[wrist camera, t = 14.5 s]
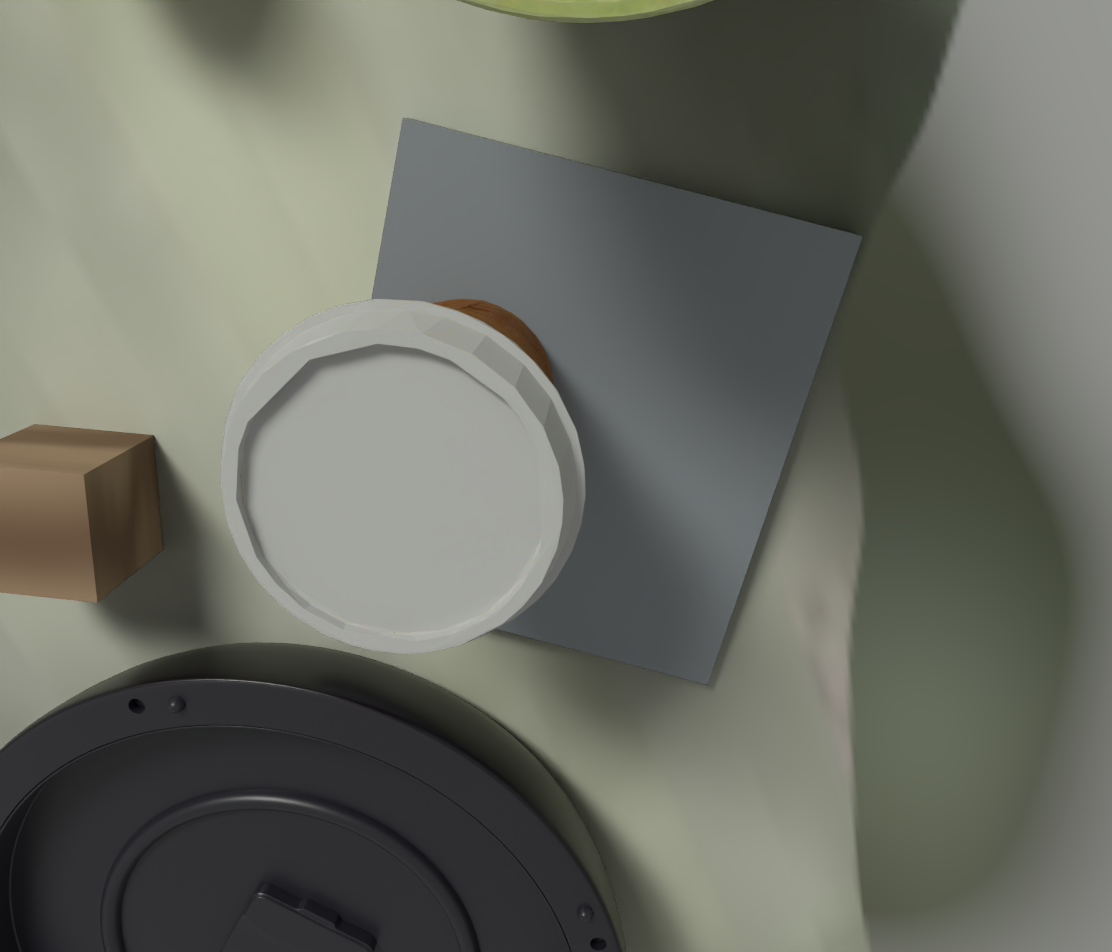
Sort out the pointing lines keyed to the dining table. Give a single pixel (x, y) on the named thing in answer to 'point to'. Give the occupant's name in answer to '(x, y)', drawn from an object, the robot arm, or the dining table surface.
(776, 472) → the slate board
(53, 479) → the walnut block
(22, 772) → the round tray
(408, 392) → the disposable coffee cup
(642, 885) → the dining table surface
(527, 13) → the flower pot
